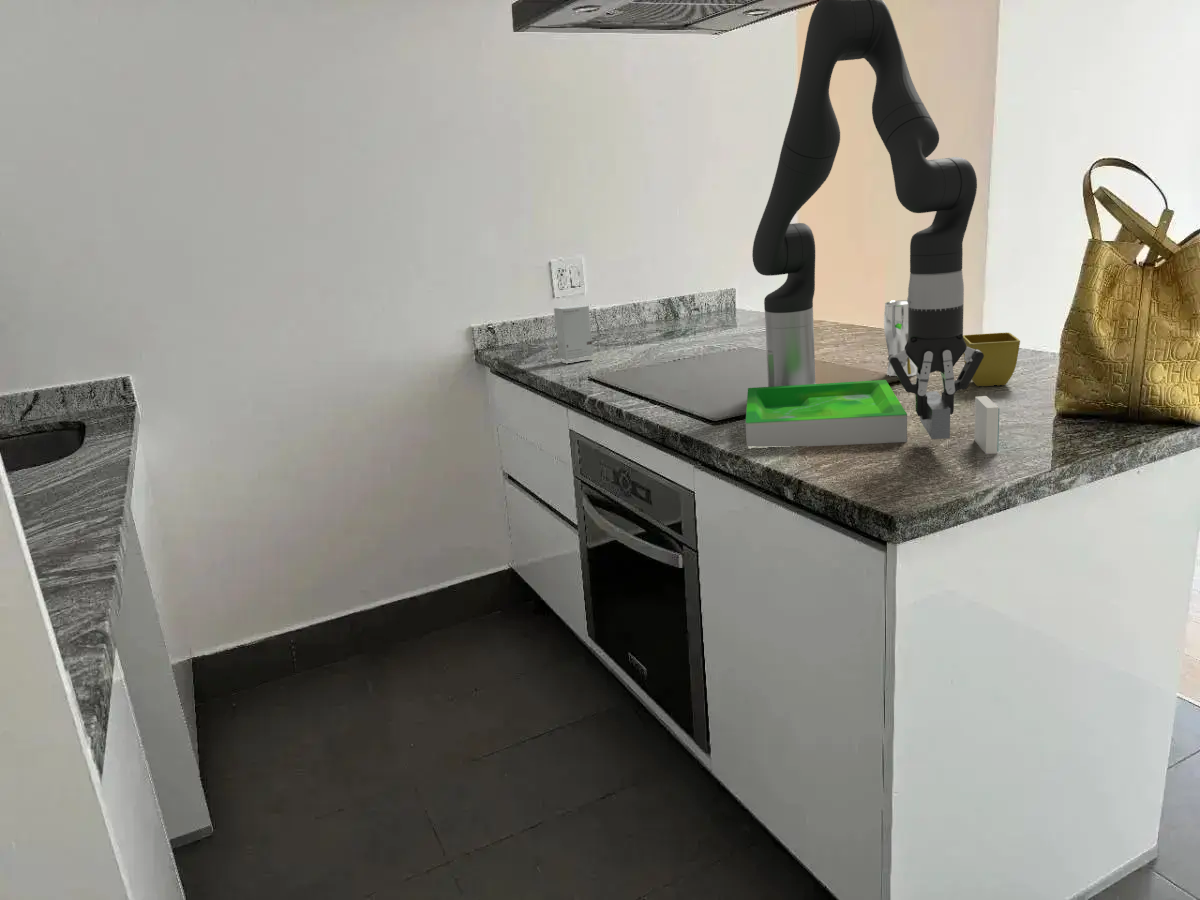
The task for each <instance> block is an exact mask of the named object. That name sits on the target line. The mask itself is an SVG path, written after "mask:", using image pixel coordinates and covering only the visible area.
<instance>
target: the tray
mask: <svg viewBox="0 0 1200 900" xmlns="http://www.w3.org/2000/svg"><path fill="white" fill-rule="evenodd" d="M746 394H747V395H746V396H747V397H746V412H745V413H746V414H745V436H746V437H745V438H746V447H747V446H807V447H823V446H824V447H825V446H846V445H848V446H849V445H868V444H891V443H908V413H907V412H906V410H905V408H904V407H903V405H902V404H901V402H900V400H899V399H898V397H897V395H896V394H895V393H894V391H893V388H892V387H891V386H890V385H889V383H888V381H887V380H886V379H878V380H877V379H876V380H875V379H874V380H862V381H861V380H860V381H843V382H841V381H840V382H827V383H816V384H807V385H790V386H773V387H768V386H759V387H758V386H756V387H748V388H747V393H746Z"/></svg>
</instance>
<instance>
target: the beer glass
mask: <svg viewBox="0 0 1200 900" xmlns="http://www.w3.org/2000/svg"><path fill="white" fill-rule="evenodd" d="M883 331H884V336H885V337H884V338H885V344H886V348H887V353H888V356H889V355H891V354H894V355H895V354H897V353H899V352H901V351H903V350H905V345H906V344H907V341H908V302H907V299H899V300H891V301H887V302H885V303H884V315H883ZM887 364H888V365H887V369H886V375H887V376H888V375H889V376H888V377H891V376H897V375H896V373H895V371H894V369H893V368H892V366H891V364H890V362H889V361H888V363H887ZM903 369H904V371H905V372H906V374H907V376H908V378H910V377H914V376H915V377H916V374H917V367H916V365H915V364H914V363H913V362H912V360H911V359H910V358H909V357H907V358H906V365H905V366H904V367H903Z"/></svg>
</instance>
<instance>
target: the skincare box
mask: <svg viewBox="0 0 1200 900" xmlns="http://www.w3.org/2000/svg"><path fill="white" fill-rule="evenodd" d="M553 313H554V323H555V331H556V342H557V352H558V359H559V358H562V359H565V360H568V359H574V358H579V357H584V356H591V355H593V356H594V353H593V340H592V329H591V316H590V307H589V305H585V304H578V305H567V306H560V307H554V308H553Z"/></svg>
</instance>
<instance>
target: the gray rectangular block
mask: <svg viewBox="0 0 1200 900" xmlns="http://www.w3.org/2000/svg"><path fill="white" fill-rule="evenodd" d="M926 395H927V419H925V420H922V419H921V418H920V417H919V421H920V423H921V425H922V426H923V428H924V429H925V431H926V432H927V434H928V436H929V438H930V439H931V440H942V439H943V440H944V439H945V440H946V439H950V438H951V414H950V408H949V406H948V405H947V404H946V402H945V401H944V400H943V399H942V395H941V394H940V393H939V391H937V390H936V391H935V390H934V391H926Z"/></svg>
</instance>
